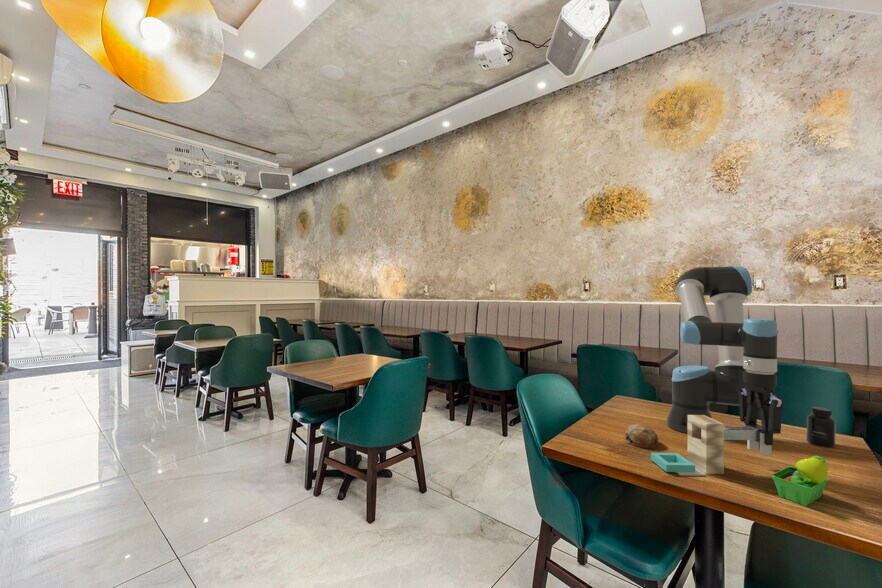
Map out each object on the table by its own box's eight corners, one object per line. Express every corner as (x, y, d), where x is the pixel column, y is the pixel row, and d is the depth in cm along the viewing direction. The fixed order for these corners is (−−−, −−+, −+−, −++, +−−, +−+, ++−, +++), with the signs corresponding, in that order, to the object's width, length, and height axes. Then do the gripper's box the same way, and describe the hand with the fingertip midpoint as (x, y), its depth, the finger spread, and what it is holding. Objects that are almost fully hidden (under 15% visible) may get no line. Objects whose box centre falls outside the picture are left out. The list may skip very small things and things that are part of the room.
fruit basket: (789, 484, 99) (790, 442, 99) (836, 500, 91) (837, 454, 91) (769, 495, 93) (770, 450, 93) (818, 513, 86) (818, 464, 86)
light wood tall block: (706, 473, 104) (706, 424, 104) (687, 461, 112) (687, 414, 112) (723, 474, 104) (724, 424, 104) (703, 461, 112) (704, 414, 112)
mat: (658, 459, 113) (658, 458, 113) (681, 459, 113) (681, 458, 113) (679, 475, 103) (679, 473, 103) (705, 475, 103) (705, 474, 103)
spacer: (677, 459, 112) (650, 459, 112) (677, 453, 112) (650, 452, 112) (695, 472, 104) (666, 471, 104) (695, 465, 104) (666, 464, 104)
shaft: (710, 441, 106) (710, 429, 107) (701, 436, 110) (701, 424, 110) (770, 442, 106) (770, 429, 106) (759, 437, 110) (760, 425, 110)
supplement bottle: (815, 446, 124) (815, 410, 124) (801, 439, 130) (801, 404, 130) (841, 449, 122) (841, 412, 122) (826, 441, 128) (826, 406, 128)
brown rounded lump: (622, 449, 130) (614, 429, 129) (641, 432, 133) (634, 413, 132) (647, 460, 121) (639, 440, 119) (667, 443, 124) (660, 422, 123)
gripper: (724, 366, 117) (724, 440, 117) (772, 378, 100) (771, 465, 100) (748, 366, 117) (748, 440, 117) (800, 378, 100) (799, 465, 100)
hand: (759, 451), depth 108 cm, fingers closed on shaft, 4 cm apart
